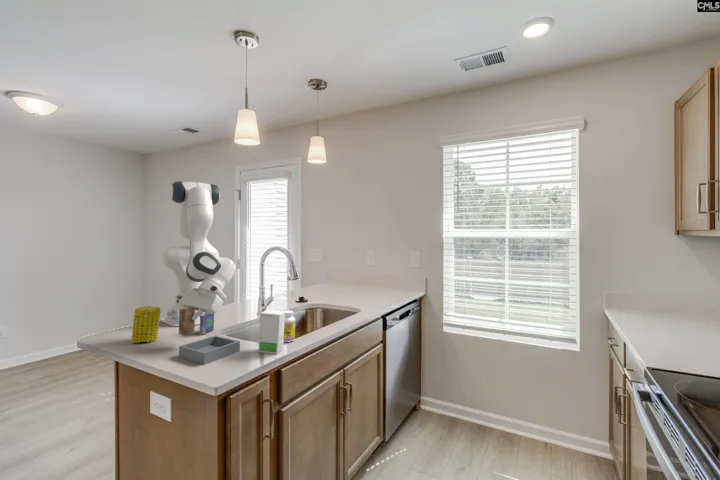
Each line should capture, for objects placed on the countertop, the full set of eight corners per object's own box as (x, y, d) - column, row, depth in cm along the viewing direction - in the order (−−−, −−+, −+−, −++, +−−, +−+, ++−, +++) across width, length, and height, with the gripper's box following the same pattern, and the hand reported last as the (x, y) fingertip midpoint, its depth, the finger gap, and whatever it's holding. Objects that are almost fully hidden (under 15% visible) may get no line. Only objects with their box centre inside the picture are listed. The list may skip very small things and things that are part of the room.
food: (126, 346, 139) (149, 340, 149) (147, 343, 135) (169, 338, 145) (123, 309, 141) (145, 306, 150) (143, 305, 137) (165, 302, 146)
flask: (203, 335, 152) (203, 311, 152) (197, 335, 152) (197, 311, 152) (215, 330, 161) (215, 307, 161) (209, 329, 161) (209, 307, 161)
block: (178, 333, 135) (179, 308, 135) (187, 331, 139) (188, 306, 138) (185, 335, 133) (185, 310, 133) (194, 332, 137) (194, 308, 136)
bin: (178, 357, 125) (179, 346, 125) (215, 345, 139) (215, 335, 139) (204, 364, 119) (204, 353, 119) (239, 351, 133) (239, 341, 133)
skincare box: (257, 352, 132) (258, 313, 132) (264, 347, 138) (265, 309, 138) (278, 354, 131) (279, 314, 130) (284, 348, 137) (285, 310, 137)
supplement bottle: (276, 342, 145) (277, 312, 145) (282, 338, 151) (283, 309, 151) (291, 343, 144) (292, 313, 144) (296, 339, 150) (297, 310, 150)
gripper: (188, 283, 147) (166, 310, 139) (221, 289, 138) (199, 318, 129) (197, 292, 151) (176, 318, 143) (229, 298, 142) (209, 326, 134)
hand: (187, 318), depth 136 cm, fingers closed on block, 4 cm apart
